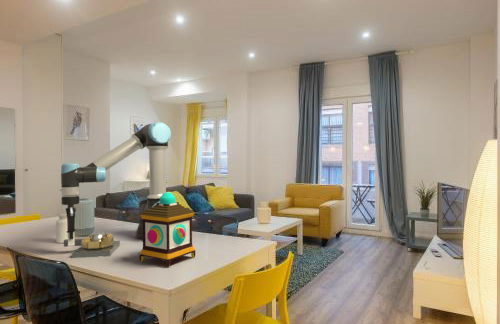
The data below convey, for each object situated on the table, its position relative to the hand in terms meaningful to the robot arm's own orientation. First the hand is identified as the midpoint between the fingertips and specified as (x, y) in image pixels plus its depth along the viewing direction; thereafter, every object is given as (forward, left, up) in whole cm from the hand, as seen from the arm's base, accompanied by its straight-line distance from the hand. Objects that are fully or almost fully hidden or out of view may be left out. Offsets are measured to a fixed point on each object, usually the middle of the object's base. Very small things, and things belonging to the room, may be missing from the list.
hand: (71, 245), depth 160 cm
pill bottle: (+13, -26, -4) cm, 29 cm away
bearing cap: (-11, -2, -4) cm, 12 cm away
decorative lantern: (-46, +18, -4) cm, 50 cm away
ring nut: (-7, -2, -1) cm, 7 cm away
